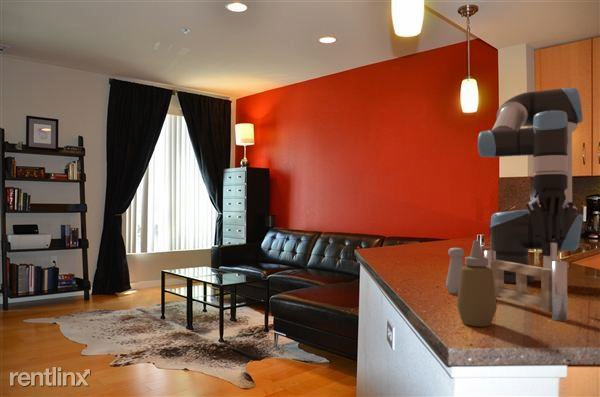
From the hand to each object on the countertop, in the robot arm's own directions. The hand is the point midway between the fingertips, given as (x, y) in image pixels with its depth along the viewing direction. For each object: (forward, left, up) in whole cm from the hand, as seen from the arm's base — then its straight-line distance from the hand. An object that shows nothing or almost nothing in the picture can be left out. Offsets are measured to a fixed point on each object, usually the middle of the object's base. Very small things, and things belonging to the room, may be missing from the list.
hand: (550, 269), depth 112 cm
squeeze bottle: (+27, +6, -10) cm, 29 cm away
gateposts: (+7, -2, -10) cm, 12 cm away
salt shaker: (+11, -22, -10) cm, 27 cm away
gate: (+7, -2, -9) cm, 11 cm away
